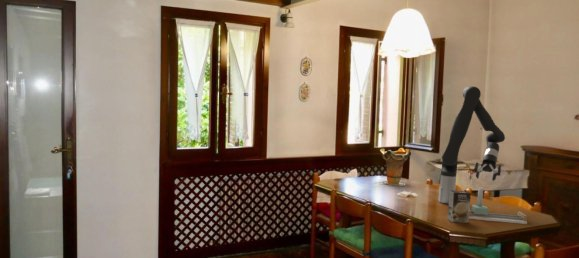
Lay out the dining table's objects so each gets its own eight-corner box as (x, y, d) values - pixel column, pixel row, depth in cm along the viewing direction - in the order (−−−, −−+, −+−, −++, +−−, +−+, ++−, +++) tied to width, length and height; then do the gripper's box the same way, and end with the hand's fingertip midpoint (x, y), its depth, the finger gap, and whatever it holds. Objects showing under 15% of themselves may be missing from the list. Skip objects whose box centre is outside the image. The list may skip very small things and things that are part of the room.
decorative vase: (371, 181, 344) (375, 145, 342) (394, 181, 355) (398, 146, 353) (389, 186, 325) (394, 148, 324) (413, 186, 336) (417, 149, 335)
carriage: (474, 213, 247) (476, 189, 246) (471, 210, 254) (473, 187, 253) (487, 214, 246) (489, 190, 245) (484, 211, 252) (486, 188, 251)
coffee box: (451, 222, 236) (454, 192, 235) (447, 218, 242) (449, 189, 241) (468, 222, 236) (471, 193, 235) (463, 219, 243) (465, 190, 242)
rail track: (468, 218, 245) (469, 211, 245) (463, 213, 257) (464, 206, 256) (526, 224, 240) (527, 216, 240) (519, 218, 252) (519, 211, 252)
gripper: (477, 152, 270) (471, 173, 261) (503, 155, 262) (498, 176, 253) (478, 160, 274) (472, 180, 266) (503, 163, 267) (498, 184, 258)
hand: (485, 178), depth 259 cm, fingers open, 8 cm apart
